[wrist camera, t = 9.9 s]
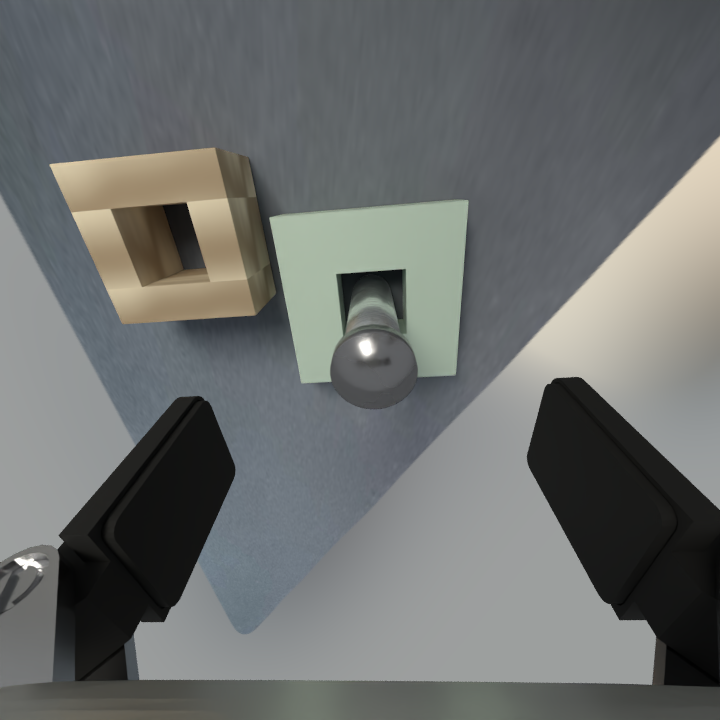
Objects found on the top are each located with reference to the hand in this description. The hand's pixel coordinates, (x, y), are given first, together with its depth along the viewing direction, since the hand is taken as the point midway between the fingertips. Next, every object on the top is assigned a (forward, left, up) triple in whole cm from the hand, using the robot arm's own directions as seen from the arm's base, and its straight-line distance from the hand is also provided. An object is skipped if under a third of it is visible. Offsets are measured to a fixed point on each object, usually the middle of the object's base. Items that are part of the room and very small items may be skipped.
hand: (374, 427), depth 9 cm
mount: (-4, -12, -17) cm, 21 cm away
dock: (+1, 0, -17) cm, 17 cm away
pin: (+1, 0, -17) cm, 17 cm away
